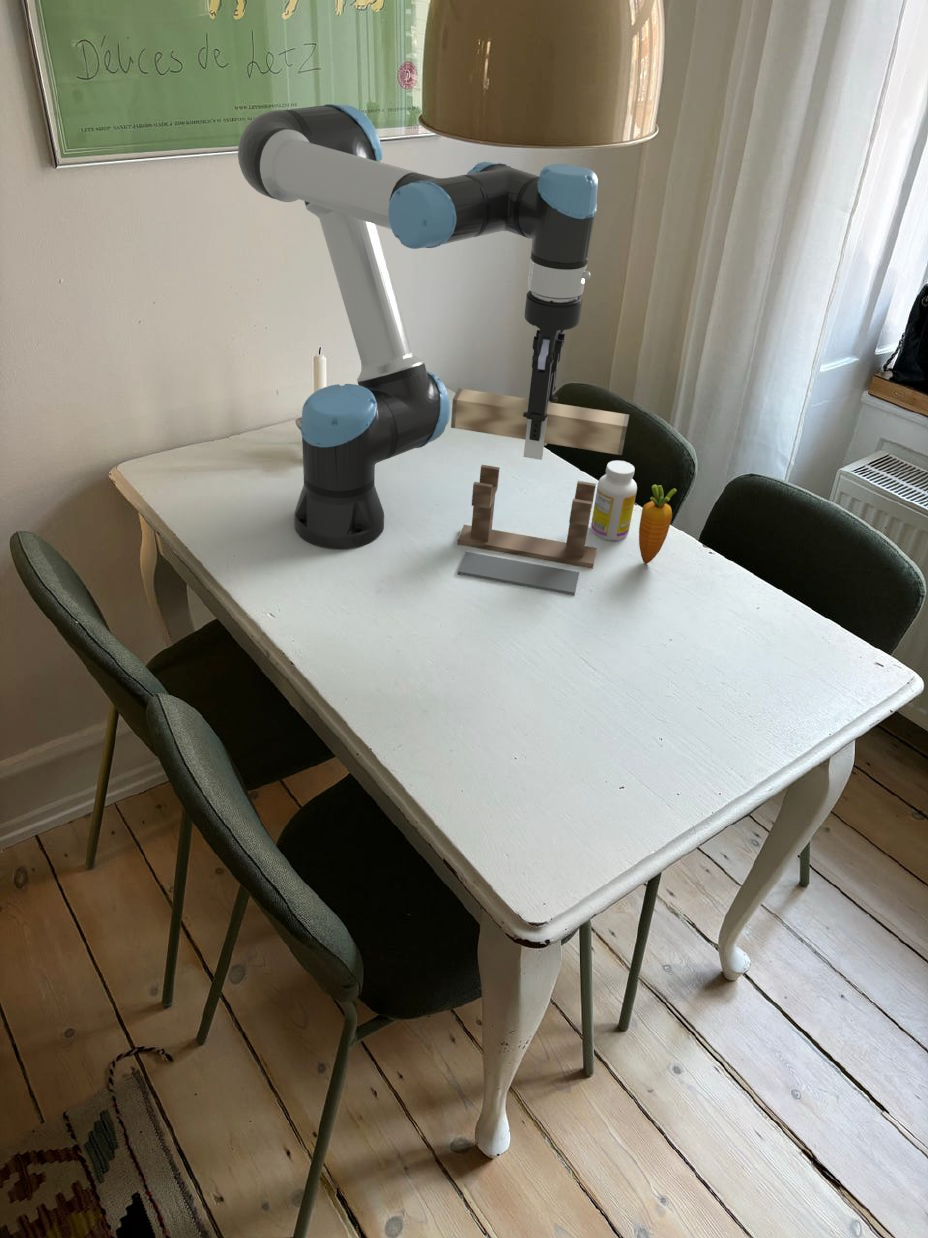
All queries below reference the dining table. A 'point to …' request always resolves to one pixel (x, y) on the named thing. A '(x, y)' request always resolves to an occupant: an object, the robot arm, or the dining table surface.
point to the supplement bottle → (614, 501)
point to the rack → (521, 544)
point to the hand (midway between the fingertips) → (535, 449)
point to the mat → (519, 573)
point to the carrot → (654, 524)
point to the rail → (562, 421)
